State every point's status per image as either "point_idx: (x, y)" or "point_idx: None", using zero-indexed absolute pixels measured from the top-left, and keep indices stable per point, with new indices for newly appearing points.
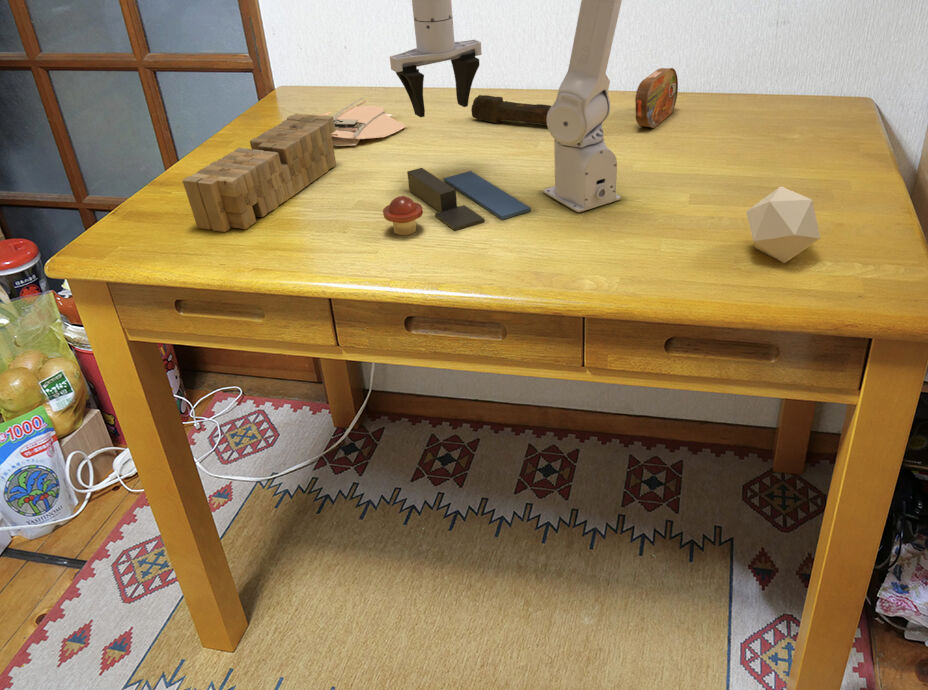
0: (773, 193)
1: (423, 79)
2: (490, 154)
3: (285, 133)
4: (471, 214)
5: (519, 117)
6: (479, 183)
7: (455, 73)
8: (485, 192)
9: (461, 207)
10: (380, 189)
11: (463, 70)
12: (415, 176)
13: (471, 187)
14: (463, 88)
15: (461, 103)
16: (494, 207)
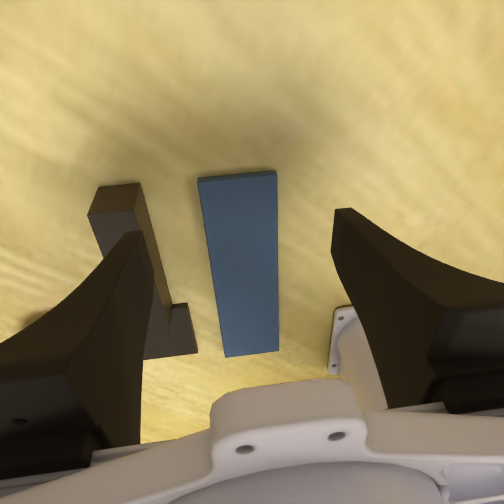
0: None
1: (139, 443)
2: (401, 63)
3: None
4: (184, 337)
5: None
6: (257, 246)
7: (394, 285)
8: (245, 285)
9: (178, 312)
10: (17, 138)
11: (391, 378)
12: (103, 252)
13: (232, 256)
14: (358, 302)
15: (334, 242)
16: (229, 334)
